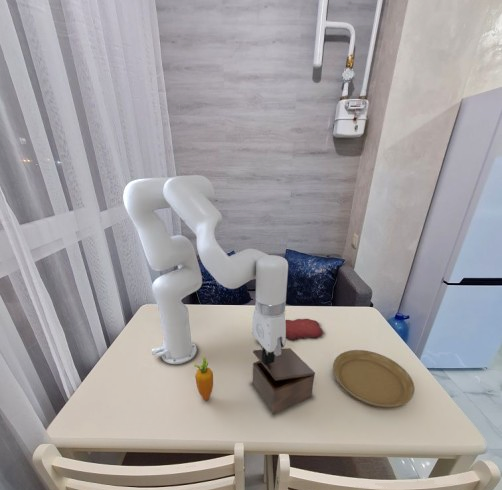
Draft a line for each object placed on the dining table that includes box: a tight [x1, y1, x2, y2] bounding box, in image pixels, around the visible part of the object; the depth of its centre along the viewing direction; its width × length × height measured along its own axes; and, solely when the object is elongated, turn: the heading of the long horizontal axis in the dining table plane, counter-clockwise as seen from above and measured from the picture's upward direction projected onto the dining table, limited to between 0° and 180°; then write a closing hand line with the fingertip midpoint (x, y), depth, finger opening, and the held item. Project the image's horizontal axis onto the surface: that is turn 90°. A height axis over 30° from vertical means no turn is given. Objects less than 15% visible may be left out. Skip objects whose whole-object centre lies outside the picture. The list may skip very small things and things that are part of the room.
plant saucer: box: [332, 349, 416, 409], centre depth 85 cm, size 24×24×3 cm
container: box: [252, 360, 316, 415], centre depth 80 cm, size 14×13×9 cm
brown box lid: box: [252, 347, 316, 380], centre depth 77 cm, size 14×13×1 cm
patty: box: [285, 318, 324, 341], centre depth 112 cm, size 18×14×2 cm
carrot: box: [193, 357, 214, 402], centre depth 75 cm, size 5×5×15 cm
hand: (267, 361), depth 74 cm, fingers closed
